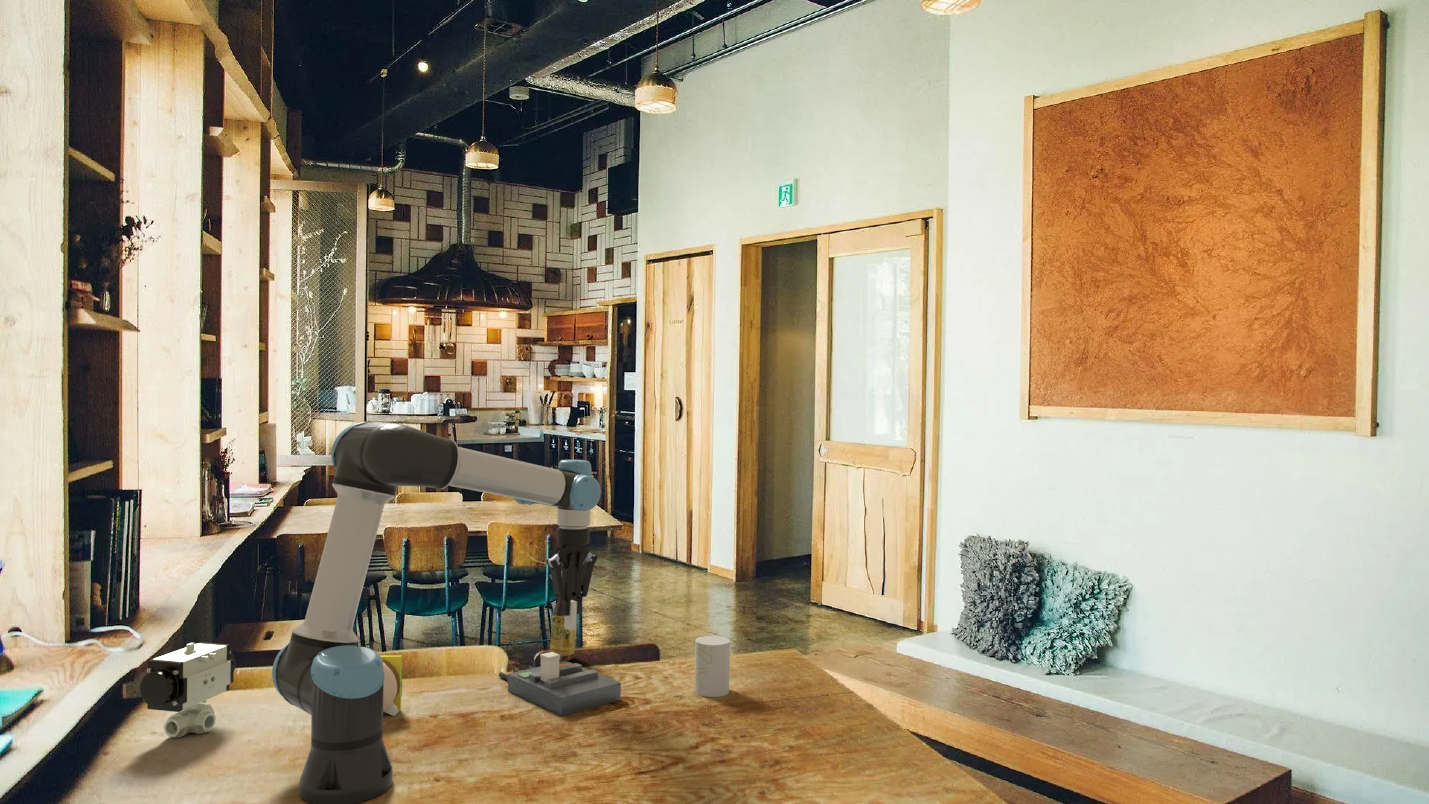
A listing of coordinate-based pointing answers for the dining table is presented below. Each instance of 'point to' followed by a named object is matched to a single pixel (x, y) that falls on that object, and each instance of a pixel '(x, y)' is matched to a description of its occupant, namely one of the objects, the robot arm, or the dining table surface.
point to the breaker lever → (549, 666)
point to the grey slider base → (564, 688)
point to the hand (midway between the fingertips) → (570, 628)
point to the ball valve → (188, 685)
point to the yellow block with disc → (392, 684)
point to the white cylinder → (712, 666)
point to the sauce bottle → (561, 635)
